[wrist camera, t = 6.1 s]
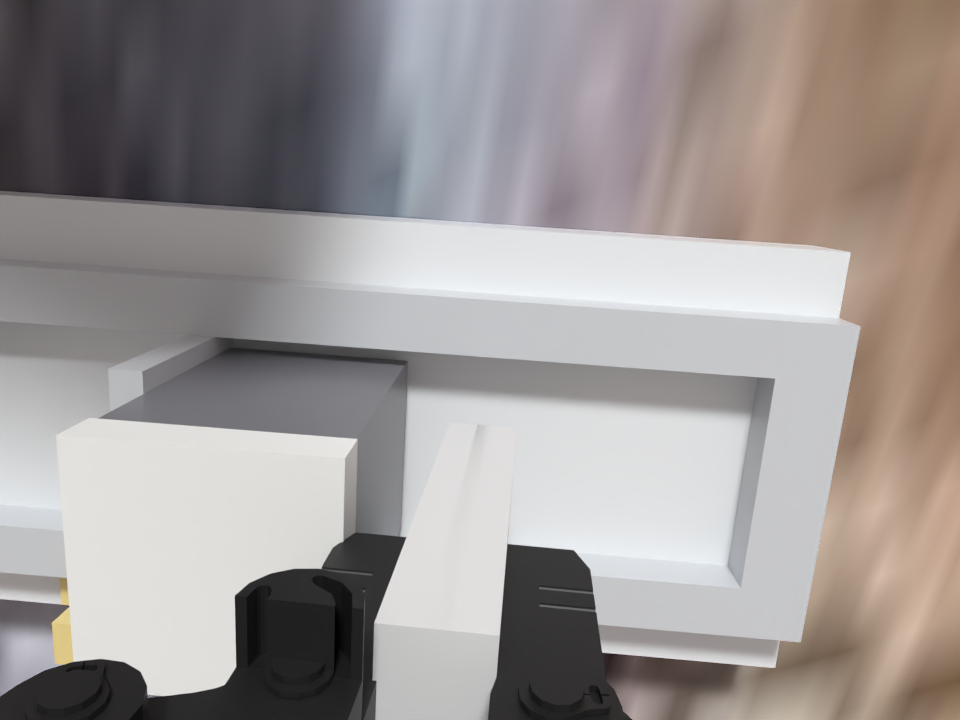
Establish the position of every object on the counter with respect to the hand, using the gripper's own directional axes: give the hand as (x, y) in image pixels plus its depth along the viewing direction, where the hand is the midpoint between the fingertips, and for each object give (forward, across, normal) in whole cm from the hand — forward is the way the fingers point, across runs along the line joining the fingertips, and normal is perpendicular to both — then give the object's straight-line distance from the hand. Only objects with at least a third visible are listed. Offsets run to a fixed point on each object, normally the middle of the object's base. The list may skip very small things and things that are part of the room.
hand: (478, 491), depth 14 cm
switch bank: (+5, -6, 0) cm, 8 cm away
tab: (+2, -4, 0) cm, 5 cm away
